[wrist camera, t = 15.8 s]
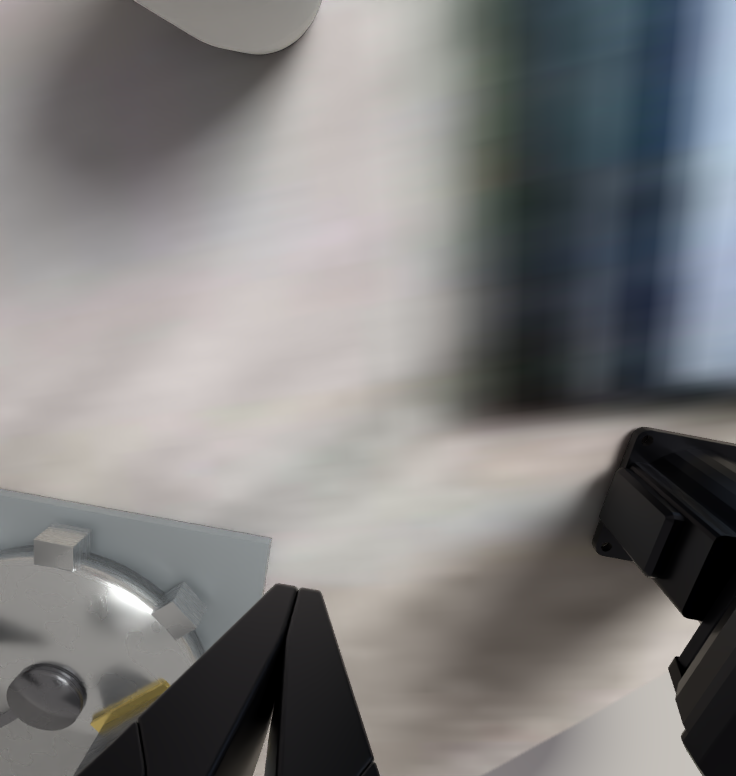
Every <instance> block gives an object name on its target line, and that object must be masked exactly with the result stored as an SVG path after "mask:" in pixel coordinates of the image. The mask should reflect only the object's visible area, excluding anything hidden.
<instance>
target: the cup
mask: <svg viewBox="0 0 736 776" xmlns="http://www.w3.org/2000/svg"><path fill="white" fill-rule="evenodd" d="M133 1H135V2H137V3H138V4H140V5H142V6H143V7H145V8H147V9H148V10H150V11H152V12H153V13H155V14H156V15H158V16H160V17H161V18H163V19H165V20H166V21H168V22H170V23H171V24H173V25H175V26H176V27H178V28H179V29H181V30H183V31H184V32H186V33H188V34H189V35H191V36H193V37H194V38H196V39H198V40H200V41H202V42H204V43H207V44H209V45H212V46H215V47H218V48H223V49H228V50H233V51H238V52H243V53H248V54H259V55H260V54H269V53H274V52H277V51H280V50H282V49H284V48H286V47H288V46H289V45H291V44H292V43H294V42H295V41H296V40H298V39H299V38H300V37H301V36H302V35H303V34H304V33H305V31H306V30H307V29H308V27H309V26H310V25H311V23H312V21H313V20H314V18H315V16H316V14H317V11H318V9H319V7H320V4H321V2H322V0H133Z"/></svg>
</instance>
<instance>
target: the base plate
mask: <svg viewBox="0 0 736 776" xmlns="http://www.w3.org/2000/svg"><path fill="white" fill-rule="evenodd" d="M54 522H56V523H61V524H66V525H72V526H77V527H82V528H87V529H92V540H91V553H94V554H97V555H100V556H103V557H105V558H108V559H111V560H113V561H116V562H118V563H120V564H122V565H124V566H126V567H128V568H130V569H132V570H133V571H135V572H137V573H138V574H140V575H141V576H143V577H145V578H146V579H148V580H149V581H150V582H152V583H153V584H154V585H156V586H157V587H158V588H159V589H161V590H162V591H163V592H164V593H166V592H167V591H169V590H171V589H172V588H174V587H176V586H177V585H179V584H181V583H183V582H184V581H185V582H186V583H187V584H188V585H189V587H190V588H191V589H192V590H193V591H194V592H195V593H196V594H197V596H198V597H199V598H200V599H201V600H202V601H203V602H204V603H205V605H206V606H207V609H206V611H205V613H204V615H203V617H202V619H201V621H200V623H199V625H198V627H197V629H195V631H196V632H197V634H198V636H199V639H200V641H201V643H202V645H203V648H204V651H205V652H206V651H207V650H208V649H209V648H210V647H211V646H212V645H213V644H214V643H215V642H216V641H217V640H218V639H219V638H220V637H221V636H222V635H223V634H224V633H225V632H226V631H227V630H229V629H230V628H231V627H232V626H233V625H234V624H235V623H236V622H237V621H238V620H239V619H240V618H241V617H242V616H243V615H244V614H245V613H246V612H247V611H248V610H249V609H250V608H251V607H252V606H253V605H254V604H255V603H256V602H257V601H258V600H259V599H261V598H262V597H263V594H264V587H265V580H266V573H267V567H268V560H269V553H270V546H271V540H272V538H268V537H263V536H257V535H252V534H246V533H241V532H235V531H230V530H224V529H219V528H213V527H208V526H202V525H197V524H191V523H186V522H180V521H175V520H169V519H164V518H158V517H153V516H147V515H142V514H136V513H131V512H125V511H120V510H114V509H109V508H103V507H98V506H92V505H87V504H81V503H76V502H70V501H65V500H59V499H54V498H48V497H43V496H37V495H32V494H26V493H21V492H15V491H10V490H4V489H0V550H3V549H7V548H12V547H18V546H28V545H34V539H35V538H36V537H37V536H38V535H40V534H41V533H42V532H43V531H45V530H46V529H47V528H48V527H49V526H51V525H52V524H53V523H54Z"/></svg>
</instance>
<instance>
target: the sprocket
mask: <svg viewBox="0 0 736 776" xmlns="http://www.w3.org/2000/svg"><path fill="white" fill-rule="evenodd" d="M91 540H92V529H87V528H82V527H77V526H72V525H66V524H61V523H56V522H54V523H53V524H52V525H51V526H49V527H48V528H47V529H46V530H45V531H43V532H42V533H41V534H40V535H38V536H37V537H36V538H35V539H34V545H28V546H18V547H12V548H7V549H3V550H0V776H73V775H74V773H75V772H76V770H77V768H78V767H79V765H80V763H81V762H82V760H83V758H84V757H85V755H86V753H87V752H88V750H89V748H90V747H91V745H92V743H93V742H94V740H95V738H96V737H97V735H98V733H99V731H100V730H101V728H102V726H103V725H105V724H107V723H109V722H111V721H112V720H114V719H116V718H118V717H120V716H122V715H123V714H125V713H127V712H129V711H131V710H133V709H134V708H136V707H138V706H140V705H142V704H144V703H146V702H147V701H149V700H151V699H153V698H155V697H157V696H158V695H160V694H162V693H164V692H165V691H166V690H167V689H168V688H169V687H170V686H171V685H172V684H173V683H174V682H175V681H176V680H177V679H178V678H179V677H180V676H181V675H182V674H183V673H184V672H185V671H186V670H187V669H188V668H189V667H190V666H191V665H192V664H193V663H194V662H196V661H197V660H198V659H199V658H200V657H201V656H202V655H203V654H204V653H205V651H204V648H203V645H202V643H201V641H200V639H199V636H198V634H197V632H196V631H195V629H197V627H198V625H199V623H200V621H201V619H202V617H203V615H204V613H205V611H206V609H207V606H206V605H205V603H204V602H203V601H202V600H201V599H200V598H199V597H198V596H197V594H196V593H195V592H194V591H193V590H192V589H191V588H190V587H189V585H188V584H187V583H186V582H185V581H184V582H183V583H181V584H179V585H177V586H176V587H174V588H172V589H171V590H169V591H167V592H166V593H164V592H163V591H162V590H161V589H159V588H158V587H157V586H156V585H154V584H153V583H152V582H150V581H149V580H148V579H146V578H145V577H143V576H141V575H140V574H138V573H137V572H135V571H133V570H132V569H130V568H128V567H126V566H124V565H122V564H120V563H118V562H116V561H113V560H111V559H108V558H105V557H103V556H100V555H97V554H94V553H91Z"/></svg>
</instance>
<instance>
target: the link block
mask: <svg viewBox="0 0 736 776" xmlns="http://www.w3.org/2000/svg"><path fill="white" fill-rule="evenodd" d="M160 695H161V694H160ZM160 695H158V696H157V697H155V698H153V699H151V700H149V701H147V702H146V703H144V704H142V705H140V706H138V707H136V708H134V709H133V710H131V711H129V712H127V713H125V714H123V715H122V716H120V717H118V718H116V719H114V720H112V721H111V722H109V723H107V724H105V725H103V726H102V728H101V730H100V731H99V733H98V735H97V737H96V738H95V740H94V742H93V743H92V745H91V747H90V748H89V750H88V752H87V753H86V755H85V757H84V758H83V760H82V762H81V763H80V765H79V767H78V768H77V770H76V772H75V773H74V775H73V776H76V775H77V774H78V773H79V772H80V771H81V770H82V769H84V768H85V767H86V766H87V765H88V764H89V763H90V762H91V761H92V760H93V759H94V758H95V757H97V756H98V755H99V754H100V753H101V752H102V751H103V750H104V749H105V748H106V747H107V746H108V745H110V744H111V743H112V742H113V741H114V740H115V739H116V738H117V737H118V736H119V735H120V734H121V733H122V732H123V731H124V730H125V729H126V728H127V727H128V726H129V725H130V724H131V723H132V722H134V721H136V722H137V718H138V717H139V716H140V715H141V714H142V713H143V712H144V711H145V710H146V709H147V708H148V707H149V706H150V705H151V704H152V703H153V702H154V701H155V700H156V699H157V698H158V697H159V696H160Z"/></svg>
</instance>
